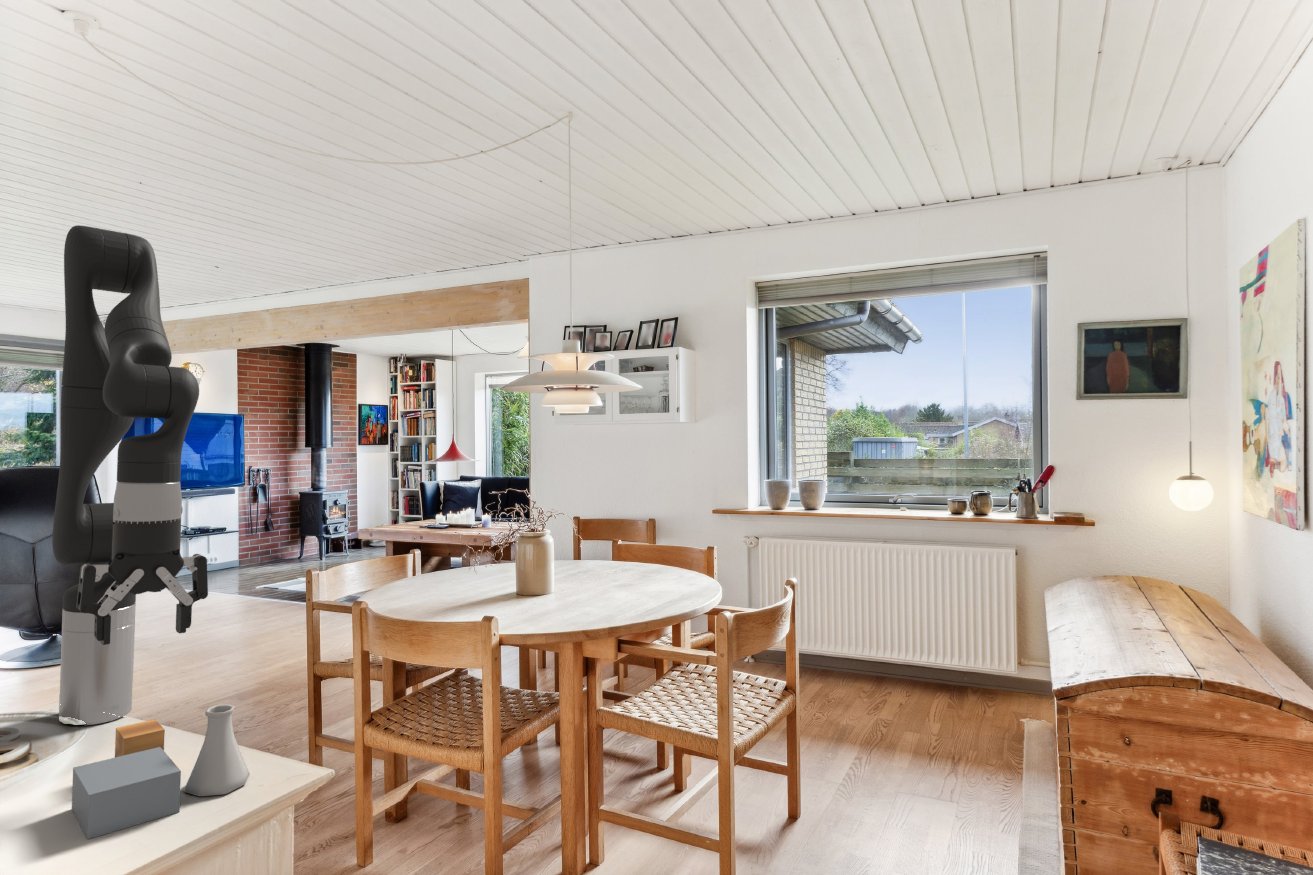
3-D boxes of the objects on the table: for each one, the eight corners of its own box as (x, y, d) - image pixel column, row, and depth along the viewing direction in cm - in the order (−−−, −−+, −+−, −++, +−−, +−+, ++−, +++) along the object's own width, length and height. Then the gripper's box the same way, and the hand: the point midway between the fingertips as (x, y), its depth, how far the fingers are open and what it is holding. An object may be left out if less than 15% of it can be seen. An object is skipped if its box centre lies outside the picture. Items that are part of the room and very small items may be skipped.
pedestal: (71, 808, 91) (73, 767, 91) (158, 785, 97) (160, 746, 97) (87, 839, 85) (88, 794, 85) (179, 811, 91) (180, 770, 91)
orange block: (114, 772, 100) (115, 727, 100) (153, 762, 104) (155, 719, 103) (122, 784, 97) (124, 738, 97) (163, 773, 100) (164, 729, 100)
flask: (228, 799, 95) (231, 720, 94) (171, 796, 95) (174, 717, 95) (260, 773, 102) (262, 699, 102) (207, 770, 102) (209, 697, 102)
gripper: (199, 510, 108) (195, 623, 108) (75, 515, 97) (71, 640, 97) (216, 515, 103) (212, 634, 103) (87, 522, 92) (83, 654, 92)
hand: (143, 637), depth 100 cm, fingers open, 8 cm apart
